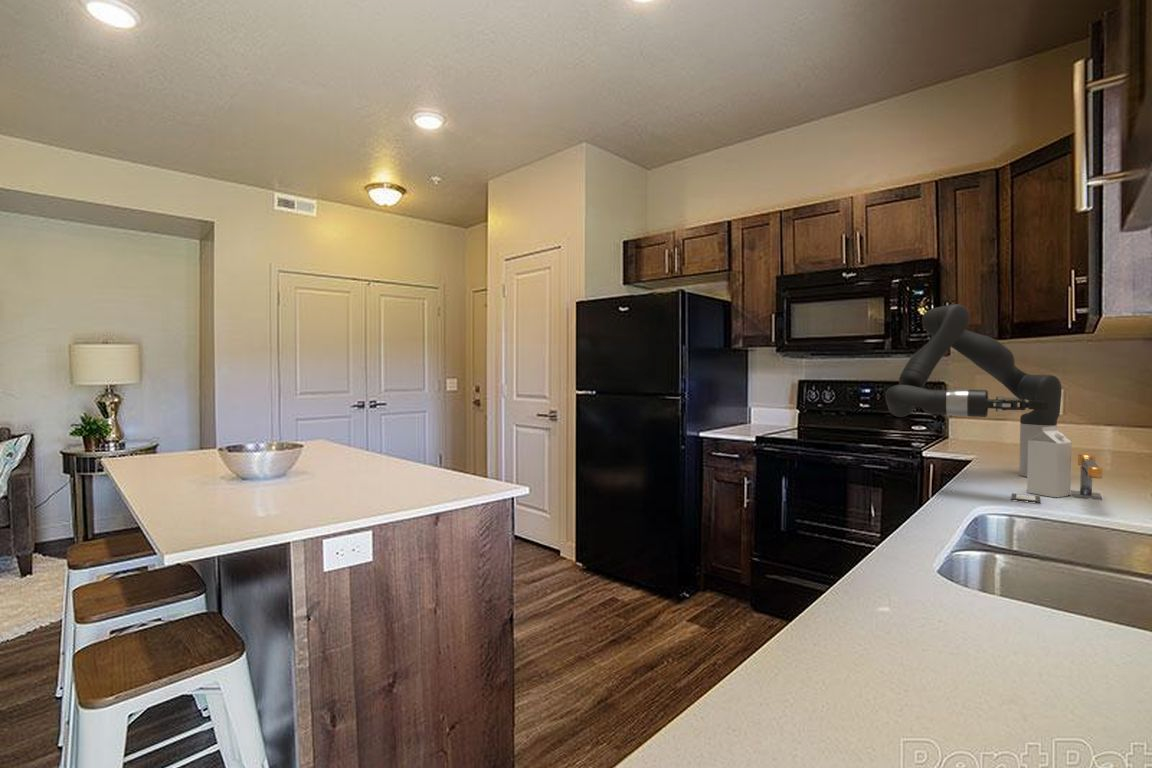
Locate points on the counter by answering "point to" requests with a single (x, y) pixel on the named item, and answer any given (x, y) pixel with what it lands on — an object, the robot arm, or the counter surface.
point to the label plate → (1026, 498)
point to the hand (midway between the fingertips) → (1047, 405)
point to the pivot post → (1085, 487)
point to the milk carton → (1049, 464)
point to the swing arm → (1090, 465)
